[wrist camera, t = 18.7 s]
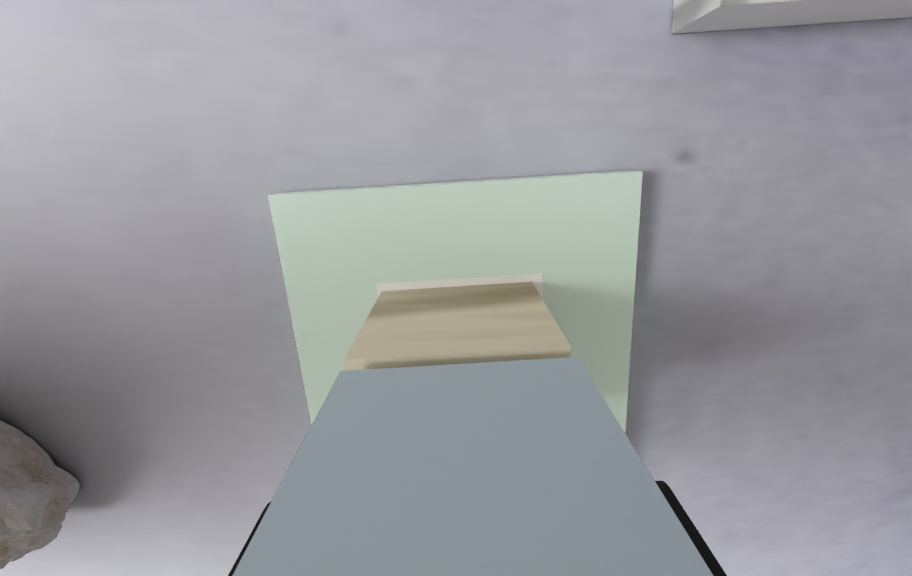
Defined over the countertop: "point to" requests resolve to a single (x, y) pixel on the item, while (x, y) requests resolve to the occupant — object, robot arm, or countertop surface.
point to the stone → (30, 495)
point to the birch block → (457, 328)
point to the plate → (464, 260)
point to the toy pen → (779, 13)
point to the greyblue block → (469, 481)
